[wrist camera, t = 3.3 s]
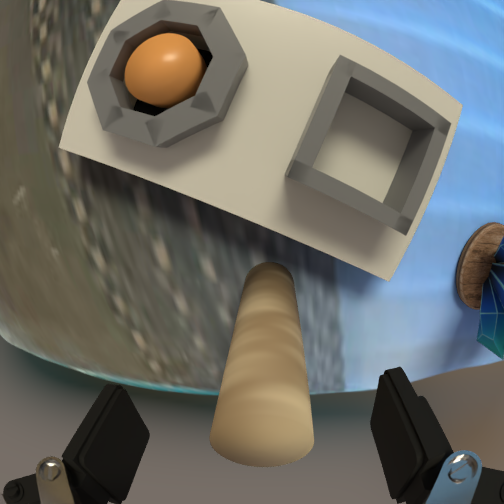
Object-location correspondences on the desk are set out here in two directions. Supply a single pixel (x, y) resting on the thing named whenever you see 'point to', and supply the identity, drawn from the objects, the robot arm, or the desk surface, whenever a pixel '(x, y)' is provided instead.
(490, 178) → the desk surface
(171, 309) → the desk surface
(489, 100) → the desk surface
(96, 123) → the panel
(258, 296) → the wooden cylinder rod
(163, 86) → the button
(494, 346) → the gemstone
